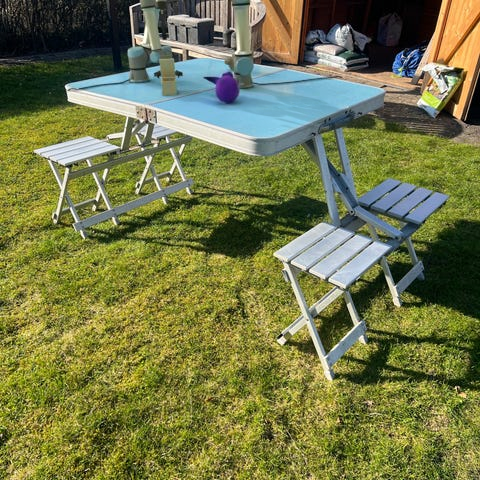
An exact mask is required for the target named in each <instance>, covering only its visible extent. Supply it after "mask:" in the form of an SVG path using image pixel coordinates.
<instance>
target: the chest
mask: <svg viewBox="0 0 480 480" xmlns="http://www.w3.org/2000/svg"><path fill="white" fill-rule="evenodd" d="M176 77H177V76H175V77H163V78H161V77H160V79H161V80H160V81H161V91H162V96H163V97H164V96H165V97H166V96H178V88H177V78H176Z"/></svg>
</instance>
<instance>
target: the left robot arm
mask: <svg viewBox="0 0 480 480" xmlns="http://www.w3.org/2000/svg"><path fill="white" fill-rule="evenodd" d="M155 1H156V0H139V4H140V9H141V11H142V13H143V16H144V22H145V25H144V31H143V39H142V41H141V42H140V45H139V46H132V47H129V48H128V49H127V57H128V66H129V76H128V79H126V80H123V81H120V82H110V83H101V84H95V85H94V84H93V85H89V86H83V87H79V89H76V88H74V87H69V88H68V89H67V92H69V91H72V90H73V91H78V90H84V89H90V88H95V87H103V86H110V85H111V86H112V85H120V84H125V83H127V82H129V83H133V84H141V83H148V82H150V76H149V74H148V71H147V67H146V65H148V64H152V63H154V64H160V61H159V59H162V55H171V59H173V50H172V46H171V45H162V44H161V38H160V33H159V28H158V27H159V26H158V24H159V19H160V15H159V11H160V8H156V7H155ZM163 59H170V58H163ZM153 77H155V78H156V79H159V80H160V79H161V70H160V69H159V70H158V71H155V72H153ZM175 77H177V79H180V77H184V73H183V71H179V70H177V69H175Z"/></svg>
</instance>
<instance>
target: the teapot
mask: <svg viewBox="0 0 480 480" xmlns="http://www.w3.org/2000/svg"><path fill="white" fill-rule="evenodd" d="M236 51H237V50H234V51H233V53H232V54H231V57H230V56H227V57H226V58H225V59H224V62H223V63H224V64H225V65H226V66H228V68H229V69H230V71H233V72H234V57H233V56H234V52H236Z"/></svg>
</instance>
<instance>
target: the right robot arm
mask: <svg viewBox="0 0 480 480" xmlns="http://www.w3.org/2000/svg"><path fill="white" fill-rule="evenodd" d="M155 7H156V8H160V11H159V19H160V26H159V28H160V29H161V39H162V41H167V40H168V36H167V23H166V10H165V9H167V8H169V5H168V1H167V0H156V1H155ZM250 7H251V0H231V8H233V10H234V24H235V25H234V26H235V27H234V28H235V42H236V45H235V46H236V50H235V51H236V52H234V51H233V53H234V56H233V57H234V71H233V78H234V79H236V81H237V82H238V84H239V89H240V90H241V89H250V88H253V87H254V85H258V86H266V85H267V86H268V85H284V84H294V83H302V82H309V81H315V80H324V79H325V80H327V79H335V78H340V79H343V77H342V76H340V75H334V76H325V77H316V78H307V79H301V80H294V81H284V82H283V81H282V82H265V83H264V82H263V83H259V82H254V81H253V78H252V75H251V74H252V72H253V71H254V66H255V63H254V59H253V58H254V56H253V51H252V50H251V46H250V45H251V44H250V42H251V41H250V22H249V21H250V20H249V19H250V18H249V17H250V16H249V8H250Z"/></svg>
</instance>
